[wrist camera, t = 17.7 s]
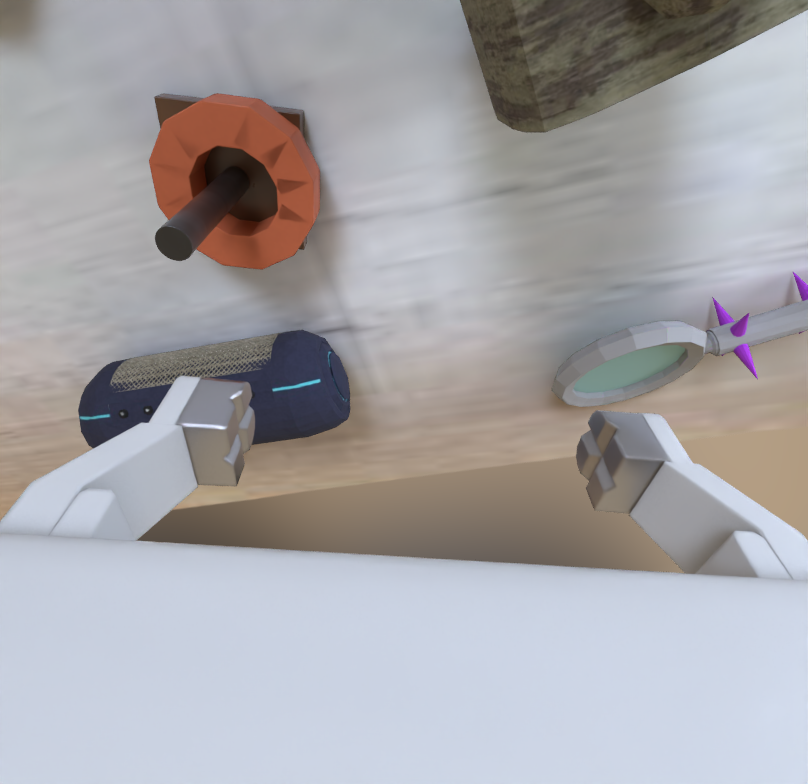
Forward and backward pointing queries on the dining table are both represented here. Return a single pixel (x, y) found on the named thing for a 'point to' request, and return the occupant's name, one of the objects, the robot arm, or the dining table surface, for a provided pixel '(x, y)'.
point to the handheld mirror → (667, 353)
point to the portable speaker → (258, 365)
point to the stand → (219, 188)
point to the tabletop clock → (601, 49)
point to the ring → (262, 139)
